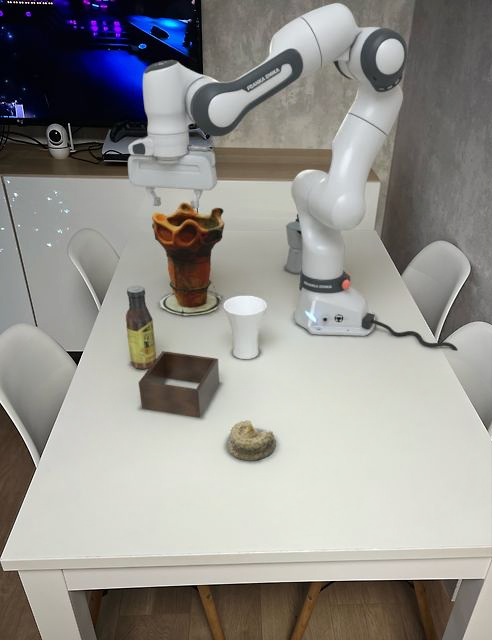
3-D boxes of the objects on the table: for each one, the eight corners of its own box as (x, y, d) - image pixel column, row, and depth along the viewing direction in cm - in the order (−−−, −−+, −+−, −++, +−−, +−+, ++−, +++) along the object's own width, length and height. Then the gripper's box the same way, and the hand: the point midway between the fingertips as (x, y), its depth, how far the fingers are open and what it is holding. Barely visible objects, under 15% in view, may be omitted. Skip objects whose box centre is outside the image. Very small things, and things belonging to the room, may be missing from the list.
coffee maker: (312, 276, 195) (315, 221, 185) (285, 276, 195) (286, 221, 185) (310, 258, 207) (313, 205, 197) (284, 258, 207) (286, 205, 197)
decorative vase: (235, 288, 187) (233, 196, 171) (217, 323, 168) (212, 224, 152) (170, 282, 190) (162, 192, 174) (144, 316, 171) (133, 218, 155)
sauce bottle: (151, 371, 147) (142, 296, 136) (127, 368, 148) (116, 294, 137) (161, 357, 153) (153, 284, 142) (137, 355, 154) (127, 282, 143)
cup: (273, 347, 157) (273, 300, 150) (255, 367, 149) (254, 318, 142) (237, 339, 161) (235, 292, 153) (217, 357, 153) (215, 309, 146)
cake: (259, 469, 119) (257, 449, 116) (217, 452, 124) (214, 432, 121) (285, 439, 126) (284, 419, 123) (244, 424, 130) (243, 404, 127)
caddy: (219, 384, 143) (218, 358, 139) (200, 417, 132) (198, 391, 128) (165, 376, 146) (162, 350, 142) (141, 408, 135) (138, 382, 131)
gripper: (218, 142, 135) (222, 204, 143) (132, 139, 139) (141, 199, 147) (210, 150, 130) (214, 213, 138) (121, 146, 134) (130, 208, 142)
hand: (175, 206), depth 142 cm, fingers open, 8 cm apart
